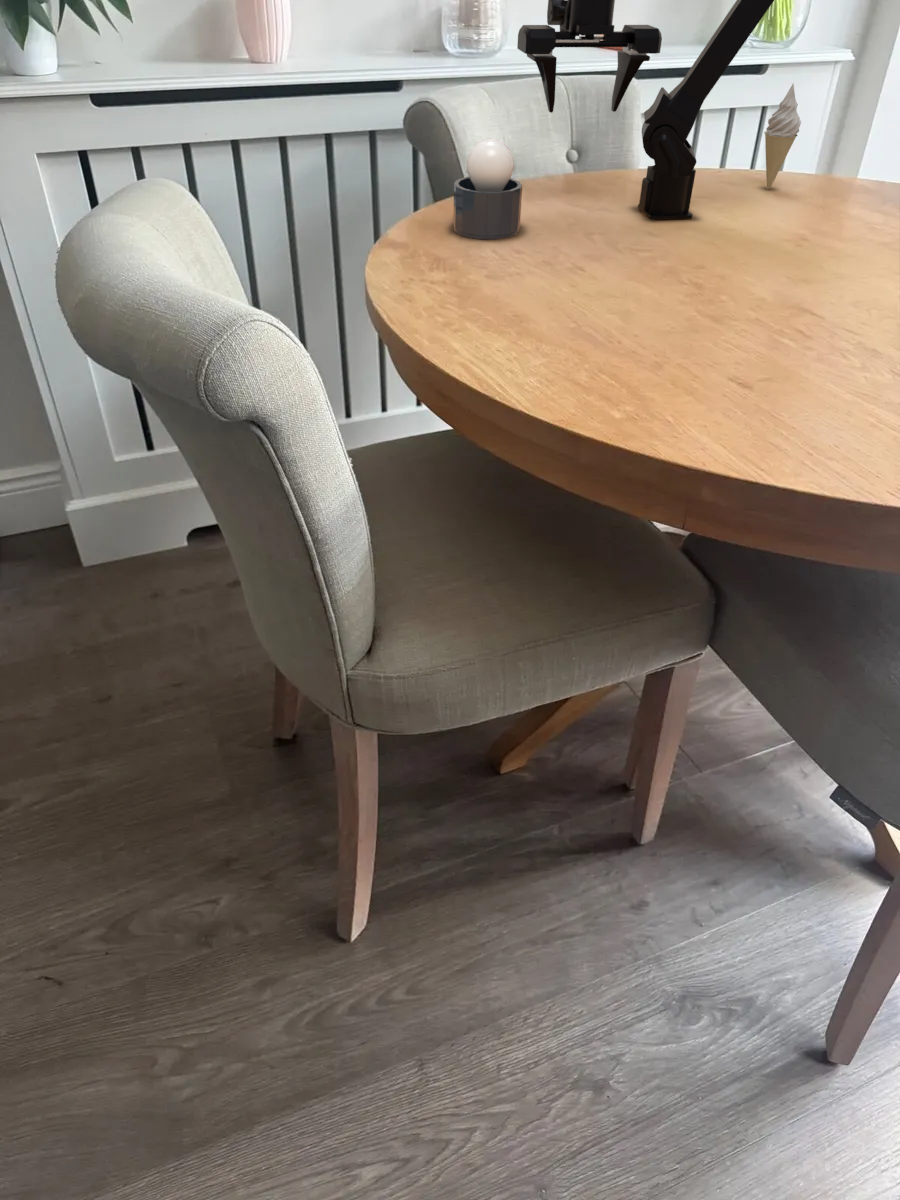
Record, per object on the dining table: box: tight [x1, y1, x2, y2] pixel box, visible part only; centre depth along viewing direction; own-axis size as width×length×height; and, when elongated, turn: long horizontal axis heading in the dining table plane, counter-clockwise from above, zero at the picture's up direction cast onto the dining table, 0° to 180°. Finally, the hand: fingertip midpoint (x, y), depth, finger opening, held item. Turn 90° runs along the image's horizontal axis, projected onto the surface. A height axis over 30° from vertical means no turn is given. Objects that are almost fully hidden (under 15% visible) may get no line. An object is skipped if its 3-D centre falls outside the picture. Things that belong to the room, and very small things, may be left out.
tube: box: [452, 176, 523, 241], centre depth 121 cm, size 9×9×6 cm
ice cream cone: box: [763, 83, 802, 190], centre depth 137 cm, size 5×5×15 cm
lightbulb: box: [466, 138, 515, 192], centre depth 119 cm, size 6×6×11 cm
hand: (582, 111), depth 123 cm, fingers open, 9 cm apart
